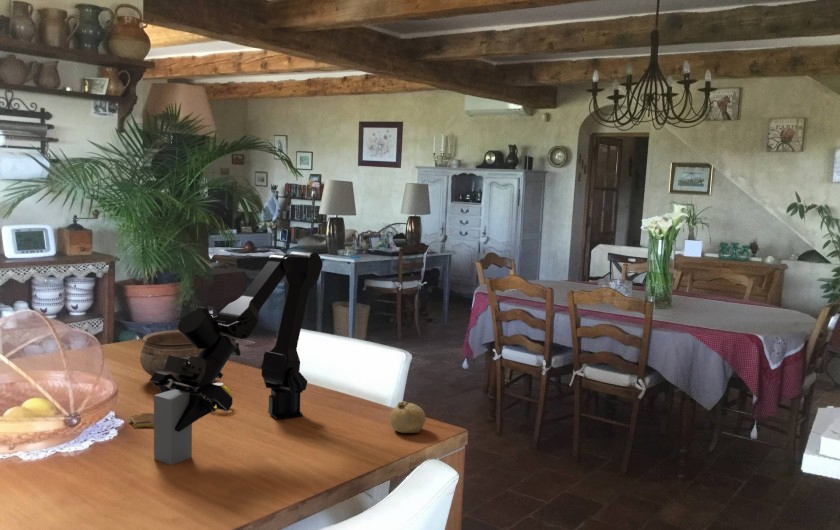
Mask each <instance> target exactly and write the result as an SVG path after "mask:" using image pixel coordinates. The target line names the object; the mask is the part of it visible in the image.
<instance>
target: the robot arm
mask: <svg viewBox="0 0 840 530" xmlns="http://www.w3.org/2000/svg"><path fill="white" fill-rule="evenodd" d="M322 269H323V260H322V258H321V256H320V254H319V253H318V252H310V251H300V250H293V251H291V252H290V253H288V254H279V253H278V254H277V253H274V254H271V255H270V256H268V258H267V261H266V264H265V265H264V266H263V268H261V270H260V271H259V272H258V274H257V275H256V276H255V278H254V279H253V281H251V283H250V284H249V285H248V287H247V289H245V291H244V292H243V294H242V295H241V296H240V297H239V298H237V299H236V300H233V301H232V302H229V303H228V304H227V305H226V306H225V307H224V308H222V309H221V310H220V311H219V313H218V314H217V315H215V316H213V315H212V314H211V313H210V311H209V310H208V309H207V307H203V306H198V307H197V308H196V310H193V311H191V312H189V313H187V314H186V315H185V316H182V317H181V319H180V320H179V322H178V325H177V330H179V331H180V332H181V333H182V334H183V335H184V336H185V337H186V338H187V339H188V340H189V341H190V342H191V344H192V345H193V346H194V347H196V348H198V349H201V351H200V352H199V354H198V355H197V357H195V356H191V357H190V358H189V359H184V358H180V357H176V356H171V355H168V357H167V360H166V363H165V366H164V369H163V370H164V371H171V372H173V373H176V375H175V376H176V377H177V378H178V379H180V380H181V382H179V381H178V380H177V379H176V378H175V377H174V376H173V375H172V374H170V373H166V372H162V371H158V372H155V373H154V374H153V376H150V379H149V382H150V383H151V384H152V385H154V387H156V388H157V389H158V390H159V391H160V393H163V392H167V391H170V390H173V389H176V390H180V391H183V392H187V393H190V397H189V404H188V406H187V408H186V409H185V411H184V413H183V414H182V416H181V418H180V420H179V421H178V423H177V425H176V427H175V430H176V431H177V432H180V431H181V430H183V429H184V428H186V427H187V426H189V425H190V424H192V425H193V423H195V422H196V421H198V420H200V419H202V418H203V417H205V416H207V415H208V414H211V413H215V412H216V410H217V409H218V410H219V411H223V412H226V413H228V412H229V410H230V409H231V407H232V406H233V398H234V397H233V396H232V395H231V396H230V395H229V393H228V392H227V391H226V389H224V388H222V387H221V386H218V385H214V382H215V381H216V379H219V380H221V379H222V378H223V376H224V373H222V372H221V371H222V370H223V368H224V367H225V365H226V363H227V362H228V360H229V359H230V357H231V356H237V357H240V356H241V350H240V347H239V346H240V343H239V342H235V341H232V340H231V338H235V339H238V340H239V339H240V340H243V339H244V340H245V339H248V338H249V337H250V336H251V335H252V333H253V332H254V329H255V328H256V327H257V324H258V322H259V312H260V311H261V309H262V308H263V306H264V304H265V303H266V302H267V300H268V299H269V298H270V296H271V295H272V294H273V293H274V291H275V290H276V288H277V287H278V286H279V284H280V283H281V281H282V280H283V279H284V277H285V280H286V281H287V285H288V287H287V292H286V296H285V301H284V305H283V310H282V315H281V319H280V323H279V328H278V332H277V337H276V342H275V345H274V346H273V348H272V349H270V351H267V350H266V351H265V352H264V353H263V359H262V364H261V365H260V369H261V377H262V378H263V381H264V385H265V388H266V389H270V394H269V395H268V413H269V414H270V415H271V416H272V417H274V418H275V419H276V420H283V419H289V418H298V417H302V416H303V412H301V394H302V393H303V392H304V391H306V389H307V386H308V380H307V379H306V378H305V376H304V375H303V374H302V373H301V372H300V369H301V360H300V357H299V353H298V351H297V349H298V344H299V339H300V333H301V331H302V330H301V329H302V325H303V321H304V318H305V317H304V315H305V311H306V307H307V303H308V297H309V294H310V290H311V289H312V288H313V287H314V285H315V284H316V283H317V282H318V280H319V277H320V275H321V272H322ZM215 406H217V408H216V409H214V407H215Z"/></svg>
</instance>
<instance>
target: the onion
mask: <svg viewBox="0 0 840 530" xmlns="http://www.w3.org/2000/svg"><path fill="white" fill-rule="evenodd" d="M426 420H427V419H426V413H425V411H424V410H423V409H422V408H421V407H420V406H418V405H417V404H415V403H411V402H407V401H405V400H403V401H399V402H398V403H397V405H396V406H395V407H394V408H393V409H392V410H391V412H390V416H389V423H390V425H391V427H392V428H393V429H394V431H396V432H398V433H402V434H419V433H420V432H421V430H422V428H423V427H424V426H425V423H426Z"/></svg>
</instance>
